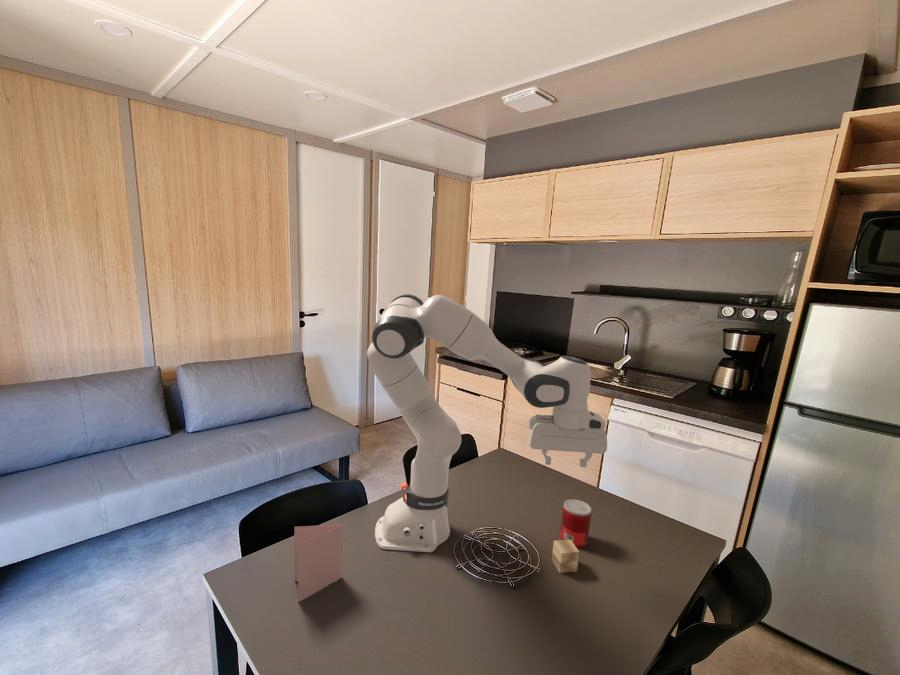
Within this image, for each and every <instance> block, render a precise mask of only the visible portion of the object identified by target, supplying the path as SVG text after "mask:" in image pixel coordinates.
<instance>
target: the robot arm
mask: <svg viewBox="0 0 900 675" xmlns="http://www.w3.org/2000/svg"><path fill="white" fill-rule="evenodd" d="M371 335H372V336H371V337H372V338H371V339H372V342H371V343H370V344H369V346H368V348H367V351H366V355H367V359H368V361H369V364H370V367H371V369H372V371H373V373H374V375H375V377H376V378H377V380H378V381H379V384H380V385H381V386H382V388H383V390H384V391H385V393H386V395H388V397H389V399H390V400H391V401H392V403H393V404H394V406H395V407H396V409H397V410H398V412H399V414H400V415H401V417H402V419H403V420H404V421H405V423H406V425H407V426H408V428H409V429H410V431H411V433H413V435H414V437H415V438H416V439H415V440H416V441H417V450H416V453H415V454H416V455H415V457H414V458H413V459H412V461H411V464H410V482H409V485H408V483H407V482H402V483H401V485H400V489H401V491H402V497H400V498H399V499H397V500H396V501H394V502H392V503H390V504H389V505H388V506H386V507H387V508H386V509H385V512H384V515H383V516H380V518H379V519H378V520H377V522H376V524H375V528H374V540H375V539H376V540H375V542H376V545H377V546H378V548H380V549H381V548H382V549H381V550H388V551H389V550H392V551H403V552H404V551H405V552H423V553H433V552H434V551H435V550H436V548H438V546H440V545H441V544H443V543H444V542H446V541H447V540H448V539H449V537H450V535H451V527H450V525H449V519H448V518H449V517H448V506H449V499H450V497H449V496H450V491H449V490H450V489H449V486H448V485H449V484H448V483H449V471H450V470H449V469H450V463H451V461H452V457H453V455H455V454H456V453H457V451H458V450H459V449H460V448H461V447H460V446H461V444H462V433H461V431H460V429H459V427H458V425H457V422H456V421H455V420H454V419H453V418H452V417H451V416H450V415H449V414H448V413H447V412H446V411H445V410H444V409H443V408H442V407H441V405H440V404H439V402H438V401H437V399H436V397H435V395H434V393H433V391H432V388H431V384H429V381H428V380H427V378H426V377H425V375H424V374H423V372H422V370H421V368H419V365H418V364H417V362H416V361H415V359H414V357H413V356H412V354H411V352H412V351H413V350H415V349H416V348H418V347H420V346H421V345H422V344H423V343H424V340H425V339H427V338H428V339H433V340H435V341H436V342H438V343H439V344H441V345H442V346H443V347H444V348H446V349H448V350H449V351H451V353H454V354H455V355H457V356H459V357H460V358H463V359H465V360H468V361H476V360H482V361H485V362H488V364H491V365H492V366H494V367H495V368H497V369H498V370H500V372H503V373H504V374H505V375H507V377H509V379H510V380H511V382H512V384H513V386H514V387H515V389H516V390H517V391H518V392H519V393H520V394H521V395H522V397H523V398H524V399H525V400H526V402H528V403H529V404H530V406H533V407H535V408H539V409H545V408H552V414H551V415H550V414H545V415H543V414H535V415H533V416H531V417H530V419H529V421H528V422H529V423H528V426H529V430H530V431H529V436H528V444H529V447H530V448H531V449H533V450H541V453H542V455H543V457H544V464H545V465H549V466H550V465H551V464H552V458H551V456H550V455H547V454H548V451H557V452H558V451H559V452H574V453H585V455H584V457H582V458H579V466H580V468H587V464H588V462H589V461H590V460H591V459H592V456H593V454H601V455H604V454H605V453H606V452H607V450H608V434H607V432H606V430H605V428H606V421H605V420H604V418H603V417H602V416H601V415H600V414H599V413H597V412H594V411H592V410H589V405H588V398H589V396H590V391H591V390H590V389H591V368H590V365H589V364H588V362H586V361H584V360H583V359H581V358H578V357H575V356H570V355H561V356H560V357H559V358H558V359H556V360H555V361H554V362H552V363H549V364H546V365H543V364H542V363H541V362H540V361H538V360H535V359H532V358H528V357H522V356H520V355H519V354H517V353H515V352H514V351H513V350H512V349H510V348H509V347H507V346H506V345H505V344H503V343H501V341H499V340H498V338H496V336H495V334H494V332H493V330H492V329H491V328H490V326H488V324H487V323H485V321H484V320H483V319H482V318H480V317H479V316H478V315H477V314H476V313H474V312H472V310H469V309H468V308H467V307H466V306H463V305H462V304H460V303H459V302H457V301H455V300H453V299H451V298H450V297H446V296H445V295H443V294H435V295H433V296H431V297H429V298H428V299H426V300H425V301H424V302H423V300H422V299H421V298H419V297H418V296H416V295H414V294H410V293H409V294H407V293H406V294H401V295H399V296H397V297H396V298H395V297H394V299H393V300H391V302H390V303H389V304H388V305H387V306H386V307H385V309H384V310H383V311H382V313H381V315H380V317H379V319H378V321H377V322H376V323H375V324H374V327H373V330H372V334H371Z"/></svg>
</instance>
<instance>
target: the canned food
mask: <svg viewBox="0 0 900 675" xmlns="http://www.w3.org/2000/svg"><path fill="white" fill-rule="evenodd" d="M592 511H593V510H592V506H590V505H589V504H588V503H587V502H584V501H582V500H580V499H567V500H565V501H564V502H563V508H562V517H561V526H560V539H561V540H570V539H571V541H572V542H573V544H574V545H575V547H576V548H583V547H585V546H586V545H587V543H588V541H589V534H590V528H591V527H590V526H591V519H592Z"/></svg>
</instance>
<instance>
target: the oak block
mask: <svg viewBox="0 0 900 675" xmlns="http://www.w3.org/2000/svg"><path fill="white" fill-rule="evenodd" d="M552 545H553V546H552V555H551V561H552V563H553V564H554V566H555V568H556V571H557V572H558V573H559V574H565V573H576V572H578V567H579V566H578V564H579V556H580V551H579V549H578V547H575V545H574V544H573V542H572V541H571V539H570V540H562V539H558V540H553V544H552Z"/></svg>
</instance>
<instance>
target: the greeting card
mask: <svg viewBox="0 0 900 675" xmlns="http://www.w3.org/2000/svg"><path fill="white" fill-rule="evenodd" d="M293 529H294V538H293V539H294V582H295V581H296V580H298V582H297V590H298V591H297V595H298V596H297V599H298V601H297V603H298V602H299V601H300V602H302V601H303V599H304V600H306V599H307V598H306V597H308V596H309V597H311V596H313V595H315V594H317V593H318V592H320V591H322V590H324V589H325V588H324V587H326V586H327V587H329V586H330V585H329V584H331V583H333V582H334V583H336V582H338V581H339V580H338V579H340V578H342V579H343V563H344V562H343V557H344V524H343V523H342V524H341V523H340V524H338V523H337V524H324V525H323V524H322V525H307V526H306V525H305V526H294V528H293ZM337 580H338V581H337ZM340 580H341V579H340ZM335 581H336V582H335ZM334 583H333V584H334ZM328 585H329V586H328ZM331 585H332V584H331ZM327 587H326V588H327ZM323 588H324V589H323ZM321 589H322V590H321ZM319 590H320V591H319ZM317 591H318V592H317ZM316 592H317V593H316ZM314 593H315V594H314ZM312 594H313V595H312ZM310 595H311V596H310ZM309 597H308V598H309ZM305 598H306V599H305ZM301 600H302V601H301ZM300 602H299V603H300Z"/></svg>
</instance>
